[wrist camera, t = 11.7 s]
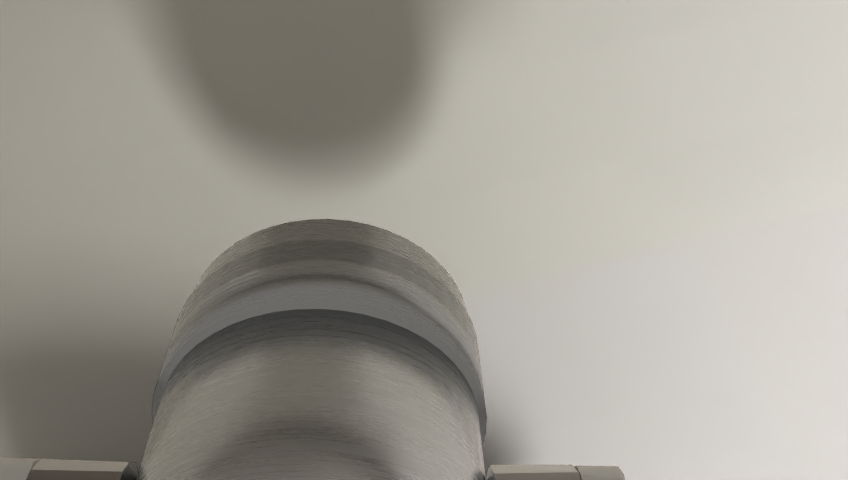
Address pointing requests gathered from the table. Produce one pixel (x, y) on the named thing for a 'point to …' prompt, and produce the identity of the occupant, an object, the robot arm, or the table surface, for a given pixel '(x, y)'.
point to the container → (320, 365)
